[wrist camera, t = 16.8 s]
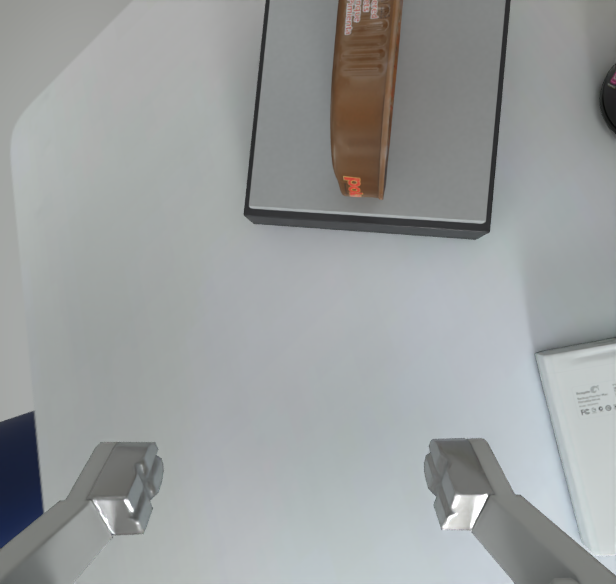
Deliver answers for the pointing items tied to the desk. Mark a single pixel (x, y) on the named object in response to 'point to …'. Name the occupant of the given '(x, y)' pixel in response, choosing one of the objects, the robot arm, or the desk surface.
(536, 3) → the desk surface
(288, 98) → the scale
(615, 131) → the supplement container
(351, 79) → the tin
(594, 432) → the hard drive
